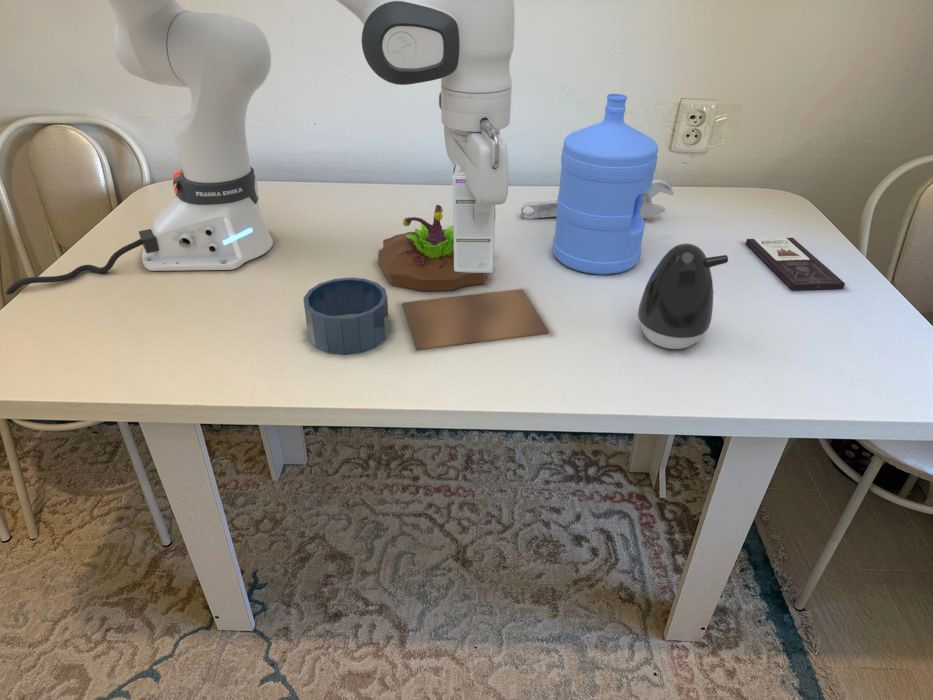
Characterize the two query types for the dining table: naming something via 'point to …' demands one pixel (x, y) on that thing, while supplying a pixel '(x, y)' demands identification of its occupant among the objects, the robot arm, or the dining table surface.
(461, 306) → the brown flat rectangular board
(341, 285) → the pipe section
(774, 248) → the chocolate bar
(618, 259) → the water jug
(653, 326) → the pump dispenser
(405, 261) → the plant
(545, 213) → the wrench
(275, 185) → the dining table surface
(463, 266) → the syrup box
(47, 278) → the robot arm
